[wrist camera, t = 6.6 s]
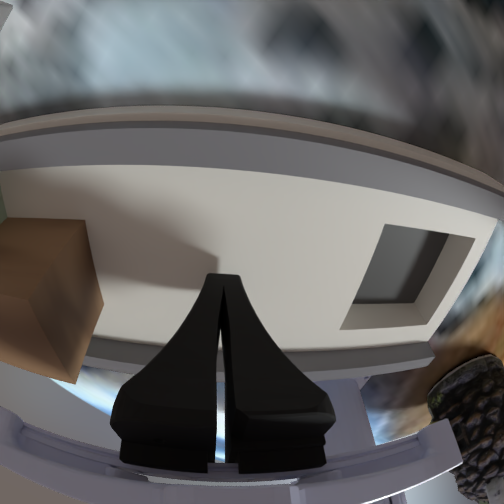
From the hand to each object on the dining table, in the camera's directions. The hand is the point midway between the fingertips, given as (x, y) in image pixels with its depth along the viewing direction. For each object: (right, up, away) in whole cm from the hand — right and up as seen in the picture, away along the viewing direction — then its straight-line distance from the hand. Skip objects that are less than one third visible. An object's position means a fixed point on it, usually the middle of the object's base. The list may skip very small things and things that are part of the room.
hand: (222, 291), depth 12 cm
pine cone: (+33, -17, +18) cm, 42 cm away
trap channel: (+1, +2, +3) cm, 4 cm away
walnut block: (-9, +1, 0) cm, 9 cm away
